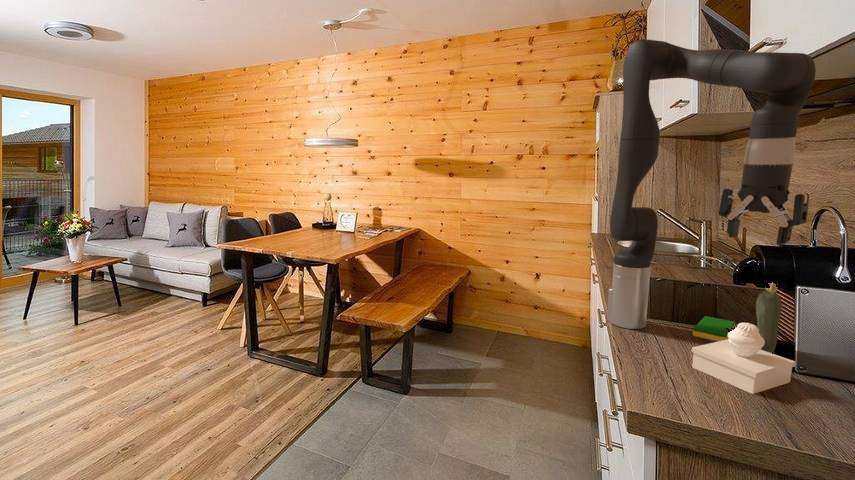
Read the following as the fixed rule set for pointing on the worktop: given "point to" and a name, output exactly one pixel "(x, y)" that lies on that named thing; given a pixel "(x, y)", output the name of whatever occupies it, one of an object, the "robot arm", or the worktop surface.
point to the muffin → (745, 340)
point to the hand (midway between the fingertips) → (755, 240)
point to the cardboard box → (742, 367)
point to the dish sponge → (713, 328)
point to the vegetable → (768, 316)
